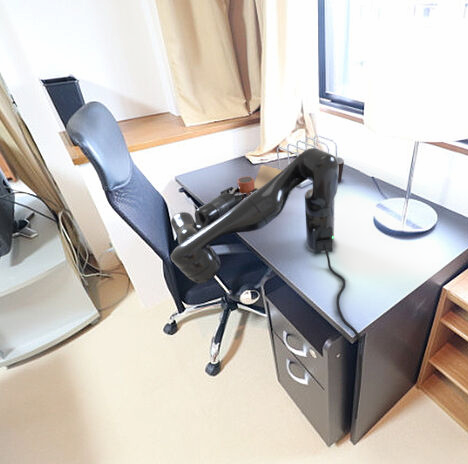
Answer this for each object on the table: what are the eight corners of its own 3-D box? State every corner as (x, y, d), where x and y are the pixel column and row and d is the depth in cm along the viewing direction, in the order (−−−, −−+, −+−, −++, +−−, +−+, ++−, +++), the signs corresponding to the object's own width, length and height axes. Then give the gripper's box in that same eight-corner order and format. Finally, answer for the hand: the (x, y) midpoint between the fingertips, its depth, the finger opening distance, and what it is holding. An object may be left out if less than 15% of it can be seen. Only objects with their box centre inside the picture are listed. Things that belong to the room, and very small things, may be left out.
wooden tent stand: (272, 198, 136) (270, 177, 131) (251, 191, 141) (248, 171, 136) (285, 189, 143) (284, 169, 137) (265, 183, 148) (262, 164, 142)
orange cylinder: (255, 210, 133) (239, 201, 123) (244, 206, 136) (227, 197, 126) (266, 184, 134) (250, 174, 124) (254, 181, 137) (238, 170, 127)
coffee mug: (346, 179, 150) (347, 159, 144) (337, 186, 144) (338, 165, 138) (325, 173, 155) (325, 154, 149) (316, 180, 149) (315, 160, 143)
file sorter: (315, 161, 168) (314, 132, 159) (339, 171, 157) (340, 140, 148) (277, 176, 154) (274, 145, 145) (300, 188, 144) (299, 155, 135)
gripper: (209, 209, 125) (239, 192, 137) (236, 219, 119) (265, 200, 130) (205, 193, 121) (236, 176, 132) (233, 202, 114) (263, 184, 126)
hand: (250, 188), depth 131 cm, fingers closed on orange cylinder, 6 cm apart
